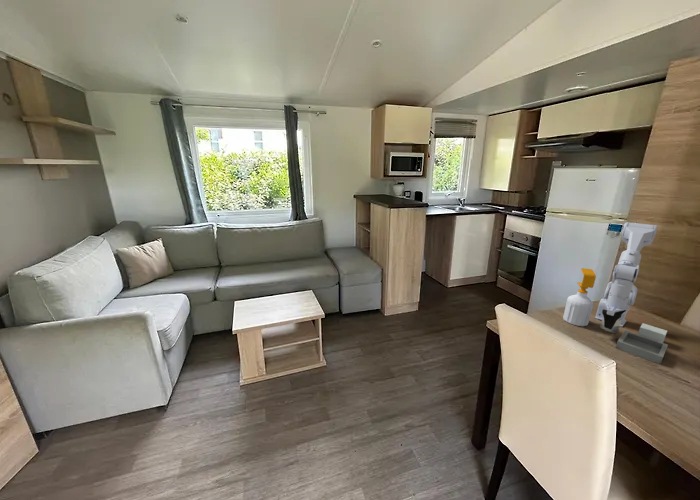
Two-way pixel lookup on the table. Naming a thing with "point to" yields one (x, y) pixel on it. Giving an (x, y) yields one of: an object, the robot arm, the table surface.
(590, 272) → the soap bottle
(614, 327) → the metal can
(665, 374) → the table surface
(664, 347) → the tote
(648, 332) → the pale upright block
